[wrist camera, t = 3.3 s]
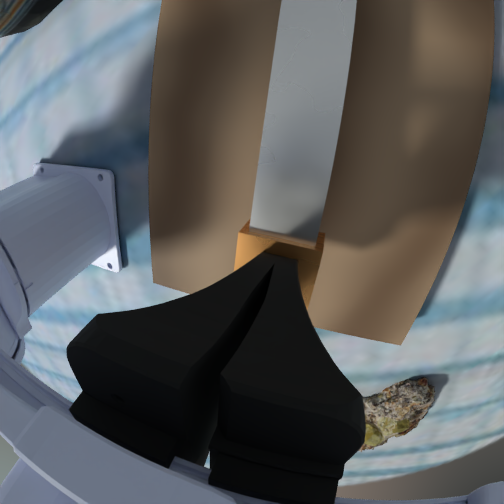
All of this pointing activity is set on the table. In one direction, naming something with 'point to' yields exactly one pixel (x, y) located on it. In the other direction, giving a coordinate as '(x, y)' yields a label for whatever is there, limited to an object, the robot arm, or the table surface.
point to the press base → (346, 155)
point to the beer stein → (23, 14)
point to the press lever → (300, 135)
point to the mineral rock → (396, 411)
